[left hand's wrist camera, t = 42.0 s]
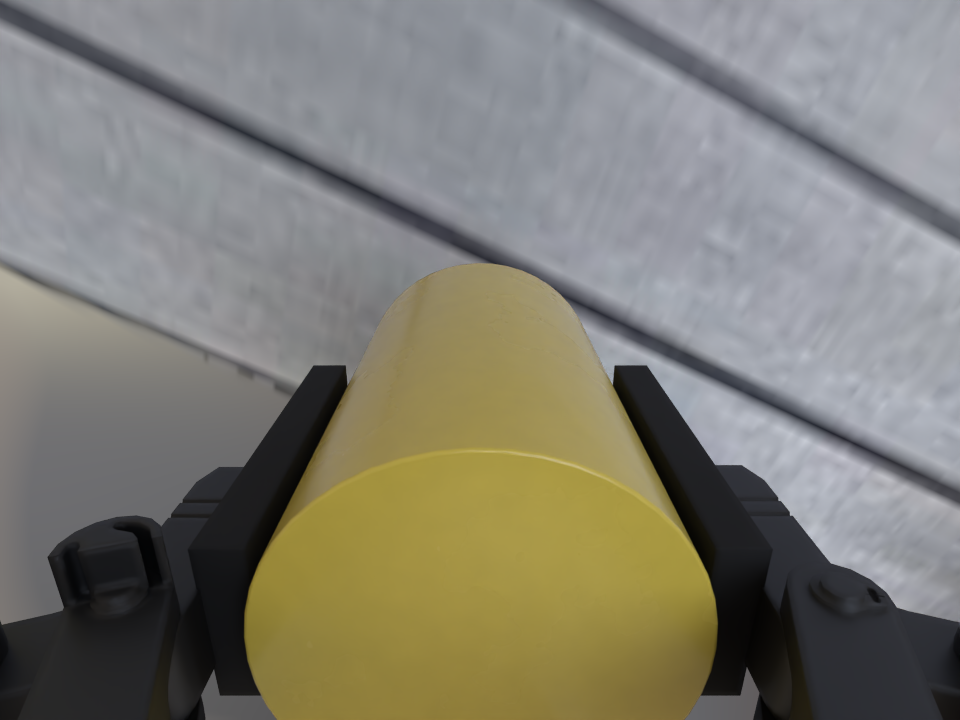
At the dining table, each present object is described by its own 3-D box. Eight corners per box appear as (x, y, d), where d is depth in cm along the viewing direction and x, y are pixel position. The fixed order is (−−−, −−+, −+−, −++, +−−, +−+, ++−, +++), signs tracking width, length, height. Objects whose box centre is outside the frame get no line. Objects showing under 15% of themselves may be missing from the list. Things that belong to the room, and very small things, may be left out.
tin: (539, 492, 19) (597, 847, 10) (343, 428, 18) (200, 751, 9) (628, 309, 16) (813, 543, 7) (409, 228, 16) (311, 376, 6)
